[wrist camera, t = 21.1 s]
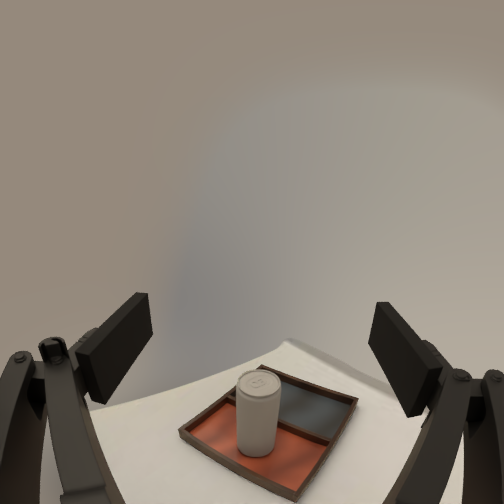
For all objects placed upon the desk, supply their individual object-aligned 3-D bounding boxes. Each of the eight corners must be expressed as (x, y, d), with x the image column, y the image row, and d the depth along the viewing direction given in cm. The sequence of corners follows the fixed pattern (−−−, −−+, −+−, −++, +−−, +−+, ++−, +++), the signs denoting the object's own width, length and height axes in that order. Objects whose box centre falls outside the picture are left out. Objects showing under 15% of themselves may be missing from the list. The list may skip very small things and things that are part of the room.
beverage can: (281, 449, 30) (291, 385, 27) (250, 465, 28) (253, 403, 25) (259, 428, 34) (263, 363, 31) (229, 441, 31) (227, 377, 28)
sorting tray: (179, 437, 32) (177, 428, 32) (261, 372, 48) (261, 364, 47) (295, 502, 22) (298, 496, 22) (356, 406, 38) (358, 398, 38)
